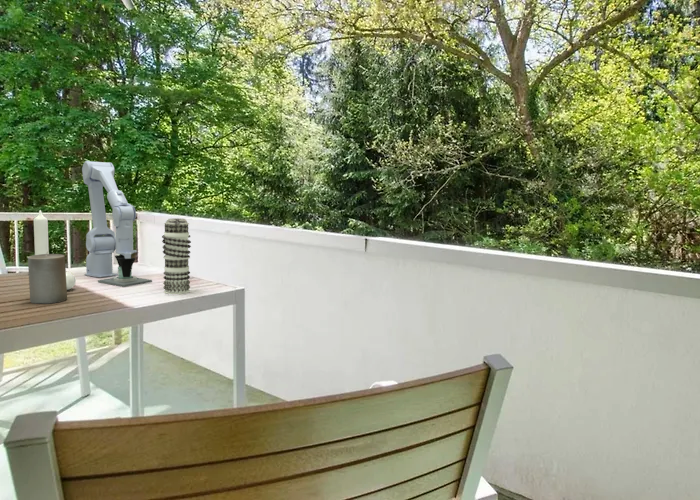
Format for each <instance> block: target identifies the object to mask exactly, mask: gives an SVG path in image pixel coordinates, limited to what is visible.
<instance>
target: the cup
mask: <svg viewBox="0 0 700 500" xmlns="http://www.w3.org/2000/svg"><path fill="white" fill-rule="evenodd" d="M117 269H118V271H117V274H118V275H117V276H119V279H129V278H132V276H133V275H132V273H133V271H132V269H133V268H132V269H131V274H130V277H123V274H122V269H121V266H119V265H118V266H117Z"/></svg>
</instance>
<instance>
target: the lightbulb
mask: <svg viewBox="0 0 700 500" xmlns="http://www.w3.org/2000/svg"><path fill="white" fill-rule="evenodd" d="M76 280H77V279H76V276H75V275H74V274H73V273H72V272H70V271H67V270H66V285H67V291H69V290H70V289H72V288H74V287H75V285H76Z"/></svg>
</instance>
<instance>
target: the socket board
mask: <svg viewBox="0 0 700 500" xmlns="http://www.w3.org/2000/svg"><path fill="white" fill-rule="evenodd" d="M152 282H153V280H152V279H148V278H141V277H137V276H135V275H132V278H129V279H119V276H118V275H116V276H114V277H111V278H103V279H98V280H97V283H98V284H106V285H109V286H110V285H112V286H115V285H116V287H121V286H122V288H127V287H132V286H137V285H144V284H147V283H148V284H149V283H152Z"/></svg>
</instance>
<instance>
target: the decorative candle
mask: <svg viewBox="0 0 700 500" xmlns="http://www.w3.org/2000/svg"><path fill="white" fill-rule="evenodd" d="M163 224H164V232H163V233H164V235H161V238H162V240H161V242H162V244H164V245H162V249H163V250H162V253H163V255H164V256H163V260H164V267H163V268H164V272H163V275H164V276H163V279H164V281H163V285H164V286H163V289H164V291H163V293H164V294H167V295H185V294H188V293H190V292H191V290H190V288H191V286H190V284H191V280H189V279H190V278H191V276H190V274H191V272H190V266H189V259H191V255H190V254H191V251H190V250H189V249H190V248H192V246H191V245H190V243H192V241H191V240H190V239H189V238H191V235H190V232H189V225H190V223H189V222H188V221H187V219H185V218H178V217H177V218H172V217H171V218H168V219H167V220H166V221H165V222H164V223H163Z"/></svg>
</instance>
